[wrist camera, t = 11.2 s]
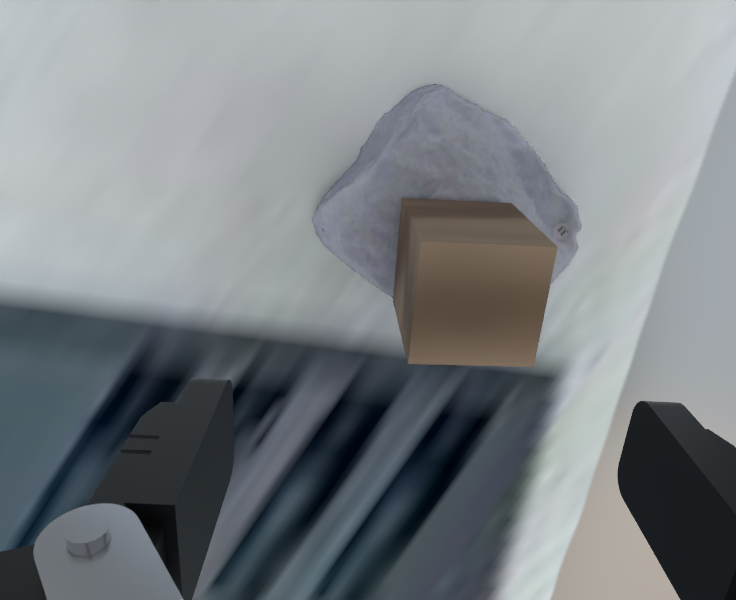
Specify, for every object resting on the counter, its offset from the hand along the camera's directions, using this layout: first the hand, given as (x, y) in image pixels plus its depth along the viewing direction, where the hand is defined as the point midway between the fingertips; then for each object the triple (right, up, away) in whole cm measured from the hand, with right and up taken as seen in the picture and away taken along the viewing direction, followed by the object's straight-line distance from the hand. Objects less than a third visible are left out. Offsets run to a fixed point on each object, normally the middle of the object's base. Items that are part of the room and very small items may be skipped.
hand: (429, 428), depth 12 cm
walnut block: (+3, +5, +16) cm, 17 cm away
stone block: (+3, +7, +20) cm, 21 cm away
